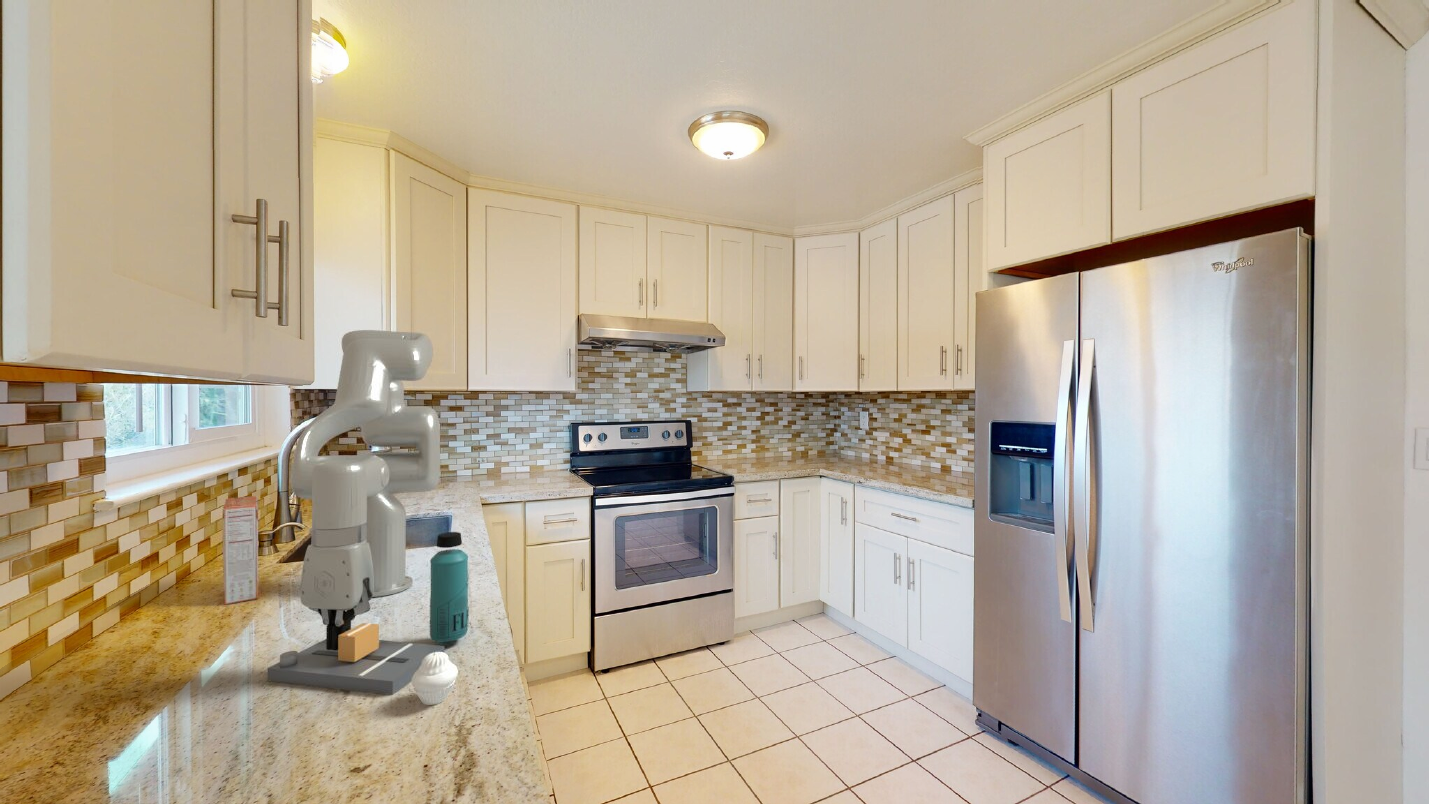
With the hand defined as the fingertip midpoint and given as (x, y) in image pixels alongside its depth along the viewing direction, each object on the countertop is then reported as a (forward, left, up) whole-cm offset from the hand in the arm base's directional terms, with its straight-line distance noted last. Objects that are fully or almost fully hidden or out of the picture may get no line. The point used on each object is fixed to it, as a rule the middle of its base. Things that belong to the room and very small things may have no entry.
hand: (338, 646), depth 91 cm
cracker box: (-49, +25, -4) cm, 55 cm away
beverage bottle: (+12, +11, -4) cm, 17 cm away
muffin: (+22, -6, -4) cm, 23 cm away
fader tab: (+4, 0, -1) cm, 4 cm away
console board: (+4, 0, -3) cm, 5 cm away
